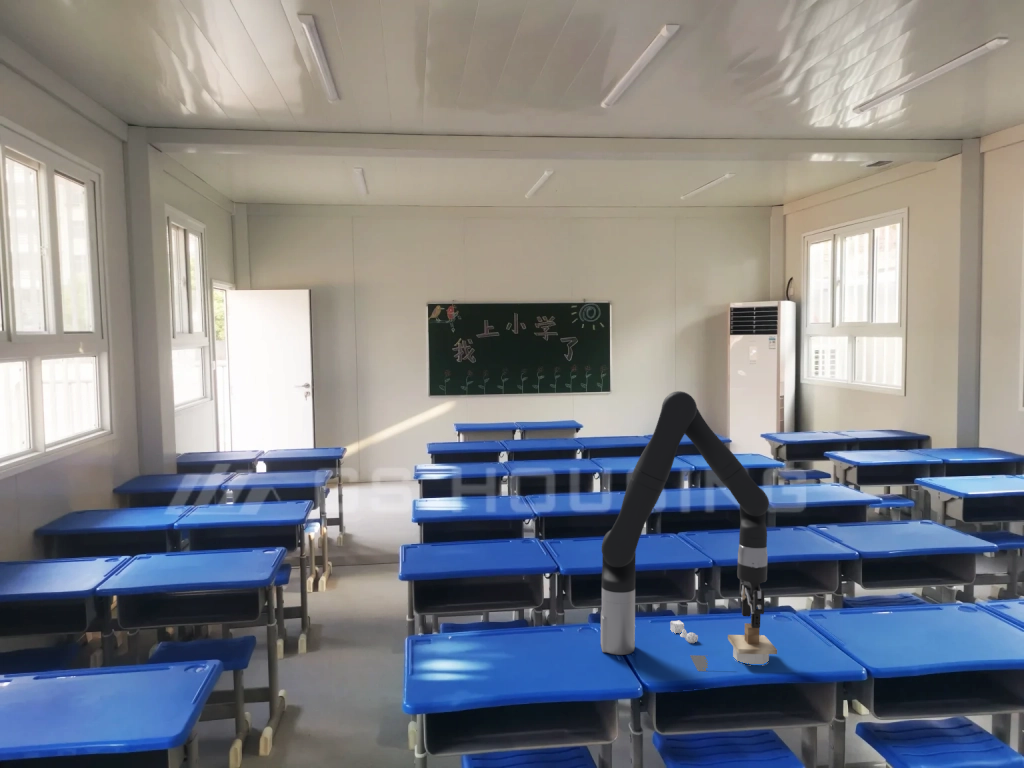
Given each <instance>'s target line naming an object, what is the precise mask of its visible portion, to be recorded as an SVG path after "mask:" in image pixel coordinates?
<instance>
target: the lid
mask: <svg viewBox="0 0 1024 768" xmlns="http://www.w3.org/2000/svg"><path fill="white" fill-rule="evenodd" d="M727 640H728V642H729V643H730V644H731V645H732V648H733V647H734V648H735V650H736V651H737V652H738V654H769V655H777V654H778V649H777V648H776V647H775V645H774V644H773V643H772V642H771V641H770V640H769V639H768V637H767V636H765V634H763V635H762V634H760V628H752V627H751V622H750V623H748V622H746V623H745V622H744V634H727Z"/></svg>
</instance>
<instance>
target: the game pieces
mask: <svg viewBox="0 0 1024 768" xmlns="http://www.w3.org/2000/svg"><path fill="white" fill-rule="evenodd" d="M684 623H685V622H682V621H681V620H680V619H679V620H671V621H670V622H669V624H670V630H671V631H670V630H669V631H670V632H672V633H673V632H674V633H675V634H674V633H673V634H674V635H677V634H676V633H679V636H680V637H681V638H684V639H685V641H686V642H687V643H689V644H695V642H696V643H697V642H698V639H699V635H698V634H696V633H694V632H687V630H686V629H685V624H684ZM681 632H682V633H681ZM680 633H681V634H680Z"/></svg>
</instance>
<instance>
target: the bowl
mask: <svg viewBox="0 0 1024 768" xmlns="http://www.w3.org/2000/svg"><path fill="white" fill-rule="evenodd" d="M732 649H733V650H732V657H734V658H735V659H736V660H737V661H736V660H735V659H734V658H733V659H734V660H735V661H736V662H738V661H740V662H743V663H747V664H748V663H749V664H764V663H766V662H768V661H769V660H770V654H738V652H737V651H736V650H735V648H734V647H733V646H732ZM769 662H770V661H769ZM769 662H768V663H769Z"/></svg>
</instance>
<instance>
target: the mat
mask: <svg viewBox="0 0 1024 768" xmlns="http://www.w3.org/2000/svg"><path fill="white" fill-rule="evenodd" d="M705 656H706V655H700V654H699V655H698V654H697V655H694V654H690V655H689V657H690V659H691V661H692V662H693V664H694V666H695V668H696V670H697V671H698V672H707V671H706V668H708V667H707V666H708V665H707V664H708V663H707V662H708V661H707V659H706V657H705ZM705 659H706V660H705ZM706 661H707V662H706ZM703 668H704V669H703Z"/></svg>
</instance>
